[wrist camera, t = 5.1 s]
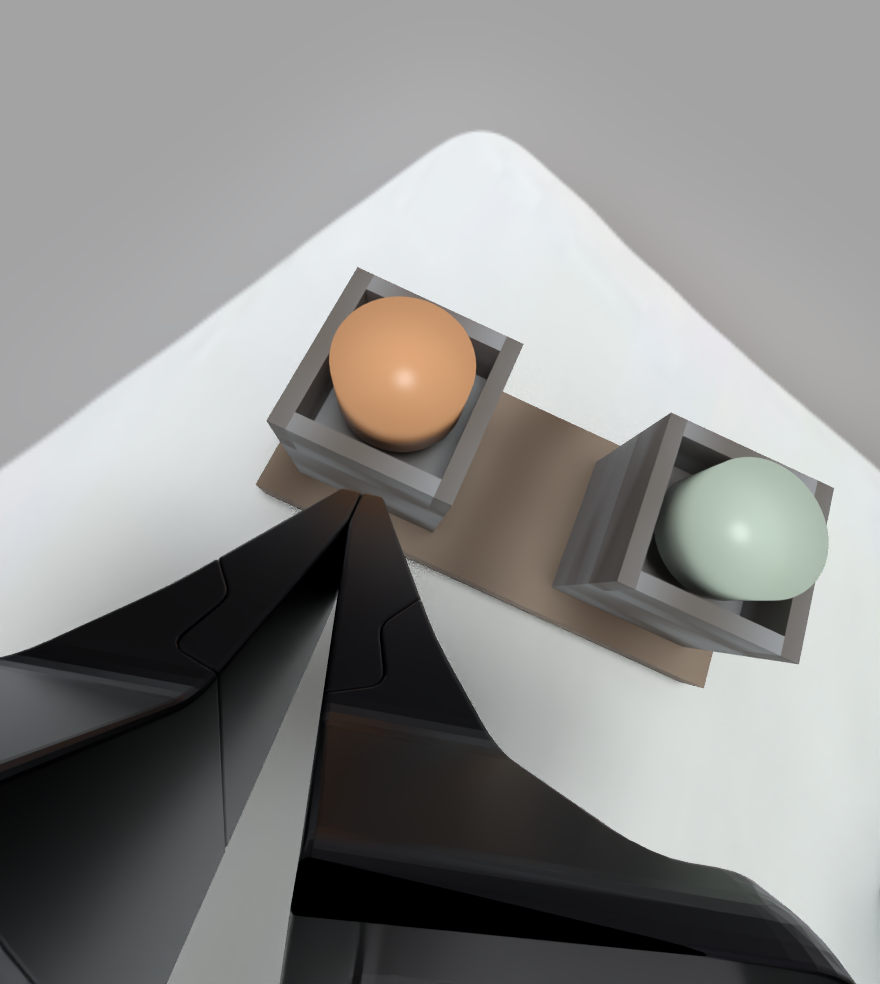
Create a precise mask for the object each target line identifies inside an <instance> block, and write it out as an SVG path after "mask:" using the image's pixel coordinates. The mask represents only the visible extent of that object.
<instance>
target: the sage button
mask: <svg viewBox="0 0 880 984" xmlns="http://www.w3.org/2000/svg"><path fill="white" fill-rule="evenodd" d="M654 533H655V540H656V544H657V548H658V551H659V553H660V556H661V558H662V560H663V562H664V564H665V566H666V567H667V569H668V570H669V571H670V573H671V574H672V575H673V576H674V577H675V579H676V580H677V581H678V582H680V583H681V584H682V585H683V586H684V587H686V588H687V589H688V590H690V591H692V592H693V593H695V594H697V595H699V596H702V597H705V598H708V599H712V600H720V601H770V600H784V599H789V598H792V597H795V596H798V595H800V594H801V593H803V592H805V591H806V590H807V589H808V588H810V587H811V586H812V585H813V584H814V583H815V581H816V580H817V579H818V577H819V576H820V574H821V573H822V570H823V568H824V566H825V562H826V559H827V554H828V531H827V526H826V522H825V518H824V515H823V513H822V510H821V508H820V506H819V504H818V502H817V500H816V499H815V497H814V495H813V494H812V492H811V491H810V490H809V489H808V487H807V486H806V485H805V484H804V483H803V482H802V481H801V480H800V479H799V478H798V477H797V476H796V475H795V474H793V473H792V472H791V471H789V470H788V469H786V468H785V467H783V466H781V465H779V464H777V463H775V462H772V461H770V460H766V459H762V458H756V457H740V458H735V459H731V460H728V461H726V462H723V463H721V464H718V465H716V466H713V467H711V468H709V469H706V470H704V471H701V472H699V473H696V474H694V475H691V476H689V477H687V478H684V479H682V480H680V481H678V482H677V483H675V484H674V485H673V486H672V487H670V488H669V489H668V490H667V492H666V493H665V495H664V498H663V502H662V505H661V508H660V511H659V515H658V518H657V521H656V524H655V528H654Z"/></svg>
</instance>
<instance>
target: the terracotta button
mask: <svg viewBox="0 0 880 984" xmlns="http://www.w3.org/2000/svg"><path fill="white" fill-rule="evenodd" d="M329 365H330V372H331V377H332V381H333V385H334V390H335V394H336V398H337V403H338V406H339V410H340V412H341V414H342V417H343V418H344V420H345V422H346V423H347V425H348V426H349V427H350V428H351V430H352V431H353V432H354V433H355V434H356V435H357V436H358V437H360V438H361V439H363V440H364V441H365V442H367V443H369V444H371V445H373V446H375V447H378V448H380V449H383V450H387V451H393V452H413V451H418V450H422V449H425V448H428V447H430V446H432V445H434V444H436V443H438V442H439V441H441V440H442V439H443V438H445V437H446V436H447V435H448V434H449V433H450V432H451V431H452V429H453V428H454V427H455V425H456V424H457V422H458V420H459V418H460V416H461V413H462V411H463V408H464V406H465V404H466V401H467V399H468V396H469V394H470V392H471V389H472V386H473V384H474V380H475V375H476V357H475V352H474V348H473V346H472V343H471V340H470V338H469V336H468V334H467V333H466V331H465V330H464V328H463V327H462V326H461V325H460V323H459V322H458V321H457V320H456V319H455V318H454V317H453V316H452V315H450V314H449V313H448V312H446V311H445V310H444V309H442V308H440V307H438V306H437V305H435V304H433V303H430V302H428V301H425V300H421V299H418V298H412V297H403V296H395V297H386V298H381V299H377V300H374V301H371V302H369V303H367V304H364V305H362V306H361V307H359V308H358V309H356V310H355V311H353V312H352V313H351V314H350V315H349V316H348V317H347V318H346V319H345V320H344V321H343V322H342V323H341V325H340V326H339V328H338V329H337V331H336V333H335V335H334V337H333V340H332V344H331V348H330V354H329Z"/></svg>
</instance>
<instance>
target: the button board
mask: <svg viewBox="0 0 880 984" xmlns="http://www.w3.org/2000/svg"><path fill="white" fill-rule="evenodd" d="M395 296H403V297H412V298H418V299H421V300H425V301H428V302H430V303H433V304H435V305H437V306H438V307H440V308H442V309H444V310H445V311H446V312H448V313H449V314H450V315H452V316H453V317H454V318H455V319H456V320H457V321H458V322H459V323H460V325H461V326H462V327H463V328H464V330H465V331H466V333H467V334H468V336H469V338H470V340H471V343H472V346H473V348H474V352H475V357H476V375H475V380H474V384H473V386H472V389H471V392H470V394H469V396H468V399H467V401H466V404H465V406H464V408H463V411H462V413H461V416H460V418H459V420H458V422H457V424H456V425H455V427H454V428H453V429H452V431H451V432H450V433H449V434H448V435H447V436H446V437H445V438H443V439H442V440H441V441H439V442H438V443H436V444H434V445H432V446H430V447H428V448H425V449H422V450H418V451H413V452H393V451H387V450H383V449H380V448H378V447H375V446H373V445H371V444H369V443H367V442H365V441H364V440H363V439H361V438H360V437H358V436H357V435H356V434H355V433H354V432H353V431H352V430H351V428H350V427H349V426H348V425H347V423H346V422H345V420H344V418H343V417H342V414H341V412H340V410H339V406H338V403H337V398H336V394H335V390H334V385H333V381H332V377H331V372H330V365H329V354H330V348H331V344H332V340H333V337H334V335H335V333H336V331H337V329H338V328H339V326H340V325H341V323H342V322H343V321H344V320H345V319H346V318H347V317H348V316H349V315H350V314H351V313H352V312H353V311H355V310H356V309H358V308H359V307H361V306H362V305H364V304H367V303H369V302H371V301H374V300H377V299H381V298H386V297H395ZM522 346H523V344H522V343H520V342H518V341H516V340H513V339H511V338H509V337H507V336H505V335H503V334H500V333H498V332H496V331H494V330H492V329H490V328H488V327H485V326H483V325H481V324H479V323H477V322H475V321H472V320H470V319H468V318H466V317H464V316H462V315H460V314H457V313H455V312H453V311H451V310H449V309H447V308H444V307H442V306H440V305H438V304H436V303H434V302H431V301H429V300H427V299H425V298H423V297H421V296H419V295H416V294H414V293H412V292H410V291H408V290H406V289H403V288H401V287H399V286H397V285H395V284H393V283H390V282H388V281H386V280H384V279H382V278H380V277H378V276H375V275H373V274H371V273H369V272H367V271H365V270H362V269H360V268H358V267H357V269H356V271H355V272H354V274H353V276H352V277H351V279H350V281H349V282H348V284H347V286H346V288H345V289H344V291H343V293H342V294H341V296H340V298H339V299H338V301H337V303H336V304H335V306H334V308H333V309H332V311H331V313H330V315H329V316H328V318H327V320H326V321H325V323H324V325H323V326H322V328H321V330H320V331H319V333H318V335H317V336H316V338H315V340H314V342H313V343H312V345H311V347H310V348H309V350H308V352H307V353H306V355H305V357H304V358H303V360H302V362H301V363H300V365H299V367H298V369H297V370H296V372H295V374H294V375H293V377H292V379H291V380H290V382H289V384H288V385H287V387H286V389H285V390H284V392H283V394H282V395H281V397H280V399H279V401H278V402H277V404H276V406H275V407H274V409H273V411H272V412H271V414H270V416H269V417H268V419H267V422H268V424H269V425H270V427H271V428H272V430H273V431H274V433H275V435H276V436H277V438H278V439H279V441H280V443H279V445H278V447H277V448H276V450H275V452H274V454H273V455H272V457H271V459H270V460H269V462H268V464H267V466H266V467H265V469H264V471H263V473H262V474H261V476H260V478H259V480H258V481H257V483H256V485H257V486H258V487H259V488H260V489H261V490H263V491H264V492H265V493H266V494H269V495H271V496H273V497H275V498H277V499H280V500H282V501H284V502H286V503H288V504H291V505H293V506H295V507H297V508H299V509H302V510H304V509H306V508H308V507H310V506H311V505H313V504H315V503H317V502H318V501H320V500H322V499H324V498H326V497H327V496H329V495H331V494H333V493H334V492H336V491H338V490H340V489H348V490H353V491H357V492H360V493H361V495H363V494H365V493H366V494H371V495H376V496H380V497H382V498H383V500H384V502H385V505H386V508H387V510H388V513H389V516H390V518H391V521H392V524H393V526H394V529H395V532H396V534H397V537H398V540H399V543H400V545H401V548H402V551H403V553H404V556H405V557H407V558H409V559H411V560H414V561H416V562H418V563H420V564H422V565H425V566H427V567H429V568H431V569H433V570H436V571H438V572H440V573H442V574H444V575H447V576H449V577H451V578H453V579H455V580H458V581H460V582H462V583H464V584H466V585H469V586H471V587H473V588H475V589H477V590H480V591H482V592H484V593H486V594H488V595H490V596H493V597H495V598H497V599H499V600H501V601H504V602H506V603H508V604H510V605H512V606H515V607H517V608H519V609H521V610H523V611H526V612H528V613H530V614H532V615H534V616H537V617H539V618H541V619H543V620H545V621H548V622H550V623H552V624H554V625H556V626H559V627H561V628H563V629H565V630H567V631H570V632H572V633H574V634H576V635H578V636H581V637H583V638H585V639H587V640H589V641H592V642H594V643H596V644H598V645H600V646H603V647H605V648H607V649H609V650H611V651H613V652H616V653H618V654H620V655H622V656H624V657H627V658H629V659H631V660H633V661H635V662H638V663H640V664H642V665H644V666H646V667H649V668H651V669H653V670H655V671H657V672H660V673H662V674H664V675H666V676H668V677H671V678H673V679H675V680H677V681H679V682H682V683H686V684H690V685H693V686H697V687H701V688H704V685H705V681H706V677H707V673H708V669H709V665H710V661H711V657H712V653H713V651H714V652H721V653H728V654H734V655H741V656H748V657H754V658H761V659H768V660H774V661H781V662H787V663H794V664H799V660H800V655H801V650H802V645H803V640H804V635H805V630H806V625H807V620H808V615H809V610H810V605H811V600H812V595H813V590H814V585H815V583H814V584H813V585H812V586H811V587H810V588H808V589H807V590H806V591H805V592H803V593H801V594H800V595H798V596H795V597H792V598H789V599H784V600H770V601H720V600H712V599H708V598H705V597H702V596H699V595H697V594H695V593H693V592H692V591H690V590H688V589H687V588H686V587H684V586H683V585H682V584H681V583H680V582H678V581H677V580H676V579H675V577H674V576H673V575H672V574H671V573H670V571H669V570H668V569H667V567H666V566H665V564H664V562H663V560H662V558H661V556H660V553H659V551H658V548H657V544H656V540H655V533H654V528H655V524H656V521H657V518H658V515H659V511H660V508H661V505H662V502H663V498H664V495H665V493H666V492H667V490H668V489H669V488H670V487H672V486H673V485H674V484H675V483H677V482H678V481H680V480H682V479H684V478H687V477H689V476H691V475H694V474H696V473H699V472H701V471H704V470H706V469H709V468H711V467H713V466H716V465H718V464H721V463H723V462H726V461H728V460H731V459H735V458H740V457H756V458H762V459H766V460H770V461H772V462H775V463H777V464H779V465H781V466H783V467H785V468H786V469H788V470H789V471H791V472H792V473H793V474H795V475H796V476H797V477H798V478H799V479H800V480H801V481H802V482H803V483H804V484H805V485H806V486H807V487H808V489H809V490H810V491H811V492H812V494H813V495H814V497H815V499H816V500H817V502H818V504H819V506H820V508H821V510H822V513H823V515H824V518H825V522H826V525H827V520H828V515H829V510H830V505H831V500H832V495H833V490H834V488H833V487H830V486H828V485H826V484H824V483H822V482H820V481H817V480H815V479H813V478H811V477H809V476H807V475H805V474H802V473H800V472H798V471H796V470H794V469H792V468H789V467H787V466H785V465H783V464H781V463H779V462H776V461H774V460H772V459H770V458H768V457H766V456H764V455H761V454H759V453H757V452H755V451H753V450H751V449H748V448H746V447H744V446H742V445H740V444H738V443H736V442H733V441H731V440H729V439H727V438H725V437H723V436H720V435H718V434H716V433H714V432H712V431H710V430H707V429H705V428H703V427H701V426H699V425H697V424H695V423H692V422H690V421H688V420H686V419H684V418H682V417H679V416H677V415H675V414H673V413H670V414H668V415H667V416H665V417H664V418H662V419H661V420H659V421H658V422H656V423H655V424H653V425H652V426H650V427H649V428H647V429H646V430H644V431H643V432H641V433H640V434H638V435H636V436H635V437H633V438H632V439H630V440H629V441H627V442H626V443H624V444H623V445H621V446H619V445H617V444H615V443H613V442H610V441H608V440H606V439H604V438H602V437H600V436H597V435H595V434H593V433H591V432H589V431H587V430H584V429H582V428H580V427H578V426H576V425H574V424H571V423H569V422H567V421H565V420H563V419H561V418H558V417H556V416H554V415H552V414H550V413H548V412H545V411H543V410H541V409H539V408H537V407H535V406H532V405H530V404H528V403H526V402H524V401H522V400H519V399H517V398H515V397H513V396H511V395H509V394H506V393H504V392H503V389H504V387H505V385H506V382H507V380H508V378H509V376H510V373H511V371H512V369H513V367H514V364H515V362H516V360H517V358H518V355H519V353H520V351H521V349H522Z"/></svg>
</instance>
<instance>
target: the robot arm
mask: <svg viewBox="0 0 880 984" xmlns="http://www.w3.org/2000/svg"><path fill="white" fill-rule="evenodd" d="M337 595H338V596H337ZM336 598H337V603H336V610H335V617H334V623H333V630H332V637H331V644H330V651H329V658H328V664H327V671H326V678H325V685H324V692H323V699H322V705H321V712H320V719H319V726H318V733H317V740H316V747H315V753H314V760H313V767H312V774H311V781H310V788H309V794H308V801H307V808H306V815H305V822H304V829H303V836H302V842H301V849H300V856H299V861H298V867H297V873H296V879H295V885H294V891H293V897H292V902H291V909H290V916H289V923H288V930H287V937H286V944H285V951H284V958H283V965H282V972H281V979H280V984H856V983H855V982H854V980H853V979H852V978H851V976H850V975H849V974H848V972H847V971H846V970H845V968H844V967H843V966H842V964H841V963H840V961H839V960H838V959H837V957H836V956H835V955H834V954H833V952H832V951H831V950H830V949H829V948H828V946H827V945H826V944H825V943H824V942H823V941H822V940H821V939H820V938H819V937H818V936H817V935H816V934H815V933H814V932H813V931H812V930H811V929H810V927H809V926H808V925H807V924H806V923H804V922H803V921H802V920H801V919H800V918H799V917H798V916H797V915H795V914H794V913H793V912H792V911H791V910H790V909H788V908H787V907H786V906H784V905H783V904H782V903H781V902H779V901H778V900H777V899H775V898H774V897H773V896H772V895H770V894H769V893H768V892H767V891H765V890H764V889H763V888H761V887H760V886H759V885H758V884H756V883H755V882H754V881H752V880H751V879H749V878H747V877H745V876H743V875H741V874H738V873H736V872H733V871H729V870H725V869H721V868H717V867H711V866H706V865H700V864H694V863H688V862H684V861H680V860H676V859H672V858H669V857H666V856H664V855H661V854H658V853H656V852H653V851H651V850H649V849H647V848H645V847H643V846H641V845H639V844H637V843H635V842H633V841H631V840H629V839H627V838H625V837H624V836H622V835H621V834H619V833H617V832H616V831H614V830H613V829H611V828H609V827H608V826H607V825H605V824H604V823H602V822H601V821H599V820H598V819H596V818H595V817H594V816H592V815H591V814H589V813H588V812H586V811H585V810H583V809H582V808H581V807H579V806H578V805H576V804H575V803H573V802H572V801H570V800H569V799H568V798H566V797H565V796H563V795H562V794H560V793H559V792H557V791H556V790H554V789H553V788H552V787H550V786H549V785H547V784H546V783H544V782H543V781H541V780H540V779H539V778H537V777H536V776H534V775H533V774H531V773H530V772H528V771H527V770H526V769H524V768H523V767H521V766H520V765H518V764H517V763H515V762H514V761H513V760H511V759H510V758H509V757H508V756H507V755H506V754H505V753H504V752H503V751H502V750H501V749H500V748H499V747H498V745H497V744H496V743H495V742H494V740H493V739H492V737H491V736H490V735H489V733H488V732H487V730H486V728H485V727H484V725H483V723H482V722H481V720H480V718H479V716H478V714H477V712H476V711H475V709H474V707H473V705H472V703H471V702H470V700H469V698H468V696H467V694H466V693H465V691H464V689H463V687H462V685H461V684H460V682H459V680H458V678H457V676H456V674H455V673H454V671H453V669H452V667H451V665H450V664H449V662H448V660H447V658H446V656H445V654H444V652H443V650H442V648H441V646H440V644H439V642H438V640H437V638H436V636H435V634H434V631H433V629H432V627H431V624H430V622H429V620H428V617H427V615H426V612H425V609H424V606H423V604H422V602H421V601H420V596H419V594H418V591H417V588H416V586H415V583H414V580H413V577H412V575H411V572H410V569H409V567H408V564H407V561H406V559H405V556H404V553H403V551H402V548H401V545H400V543H399V540H398V537H397V534H396V532H395V529H394V526H393V524H392V521H391V518H390V516H389V513H388V510H387V508H386V505H385V502H384V500H383V498H382V497H380V496H376V495H371V494H366V493H365V494H363V495H361V493H360V492H357V491H353V490H348V489H340V490H338V491H336V492H334V493H333V494H331V495H329V496H327V497H326V498H324V499H322V500H320V501H318V502H317V503H315V504H313V505H311V506H310V507H308V508H306V509H304V510H303V511H301V512H299V513H297V514H296V515H294V516H292V517H290V518H289V519H287V520H285V521H283V522H282V523H280V524H278V525H276V526H274V527H273V528H271V529H269V530H267V531H266V532H264V533H262V534H260V535H259V536H257V537H255V538H253V539H252V540H250V541H248V542H246V543H245V544H243V545H241V546H239V547H238V548H236V549H234V550H232V551H230V552H229V553H227V554H225V555H223V556H222V557H220V558H219V561H218V560H214V561H213V562H211V563H209V564H207V565H205V566H204V567H202V568H200V569H198V570H197V571H195V572H193V573H191V574H189V575H187V576H185V577H183V578H182V579H180V580H178V581H176V582H174V583H172V584H170V585H168V586H166V587H164V588H162V589H160V590H158V591H156V592H154V593H152V594H149V595H147V596H145V597H143V598H141V599H139V600H137V601H135V602H133V603H130V604H128V605H126V606H124V607H122V608H119V609H117V610H115V611H113V612H111V613H108V614H106V615H104V616H102V617H100V618H97V619H95V620H93V621H91V622H89V623H86V624H84V625H82V626H80V627H78V628H75V629H73V630H71V631H69V632H67V633H64V634H62V635H60V636H58V637H56V638H53V639H51V640H49V641H47V642H44V643H42V644H39V645H37V646H35V647H32V648H30V649H27V650H24V651H21V652H18V653H15V654H12V655H8V656H4V657H0V984H166V983H167V981H168V979H169V977H170V974H171V972H172V970H173V968H174V965H175V963H176V961H177V959H178V956H179V954H180V952H181V950H182V947H183V945H184V943H185V941H186V938H187V936H188V934H189V932H190V929H191V927H192V925H193V922H194V920H195V918H196V916H197V913H198V911H199V909H200V907H201V904H202V902H203V900H204V898H205V895H206V893H207V891H208V889H209V886H210V884H211V882H212V880H213V877H214V875H215V873H216V871H217V868H218V866H219V864H220V862H221V859H222V857H223V855H224V853H225V847H226V846H227V845H228V843H229V841H230V839H231V836H232V834H233V832H234V830H235V827H236V825H237V823H238V820H239V818H240V816H241V814H242V811H243V809H244V807H245V805H246V802H247V800H248V798H249V796H250V793H251V791H252V789H253V787H254V784H255V782H256V780H257V778H258V775H259V773H260V771H261V768H262V766H263V764H264V762H265V759H266V757H267V755H268V753H269V750H270V748H271V746H272V744H273V741H274V739H275V737H276V735H277V732H278V730H279V728H280V726H281V723H282V721H283V719H284V716H285V714H286V712H287V710H288V707H289V705H290V703H291V701H292V698H293V696H294V694H295V692H296V689H297V687H298V685H299V683H300V680H301V678H302V676H303V674H304V671H305V669H306V667H307V664H308V662H309V660H310V658H311V655H312V653H313V651H314V649H315V646H316V644H317V642H318V640H319V637H320V635H321V633H322V631H323V628H324V626H325V624H326V622H327V619H328V617H329V615H330V612H331V610H332V608H333V605H334V603H335V600H336Z"/></svg>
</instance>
